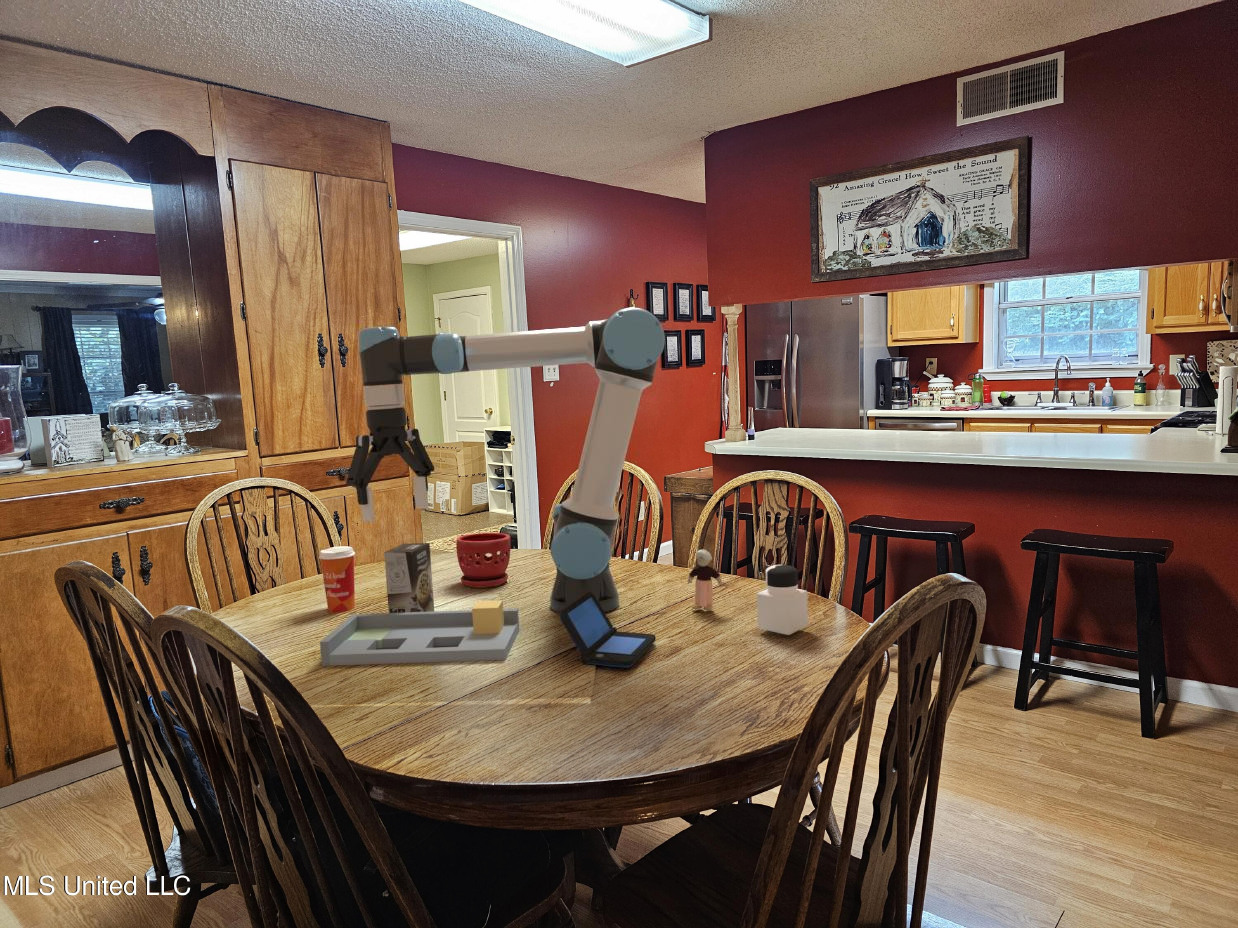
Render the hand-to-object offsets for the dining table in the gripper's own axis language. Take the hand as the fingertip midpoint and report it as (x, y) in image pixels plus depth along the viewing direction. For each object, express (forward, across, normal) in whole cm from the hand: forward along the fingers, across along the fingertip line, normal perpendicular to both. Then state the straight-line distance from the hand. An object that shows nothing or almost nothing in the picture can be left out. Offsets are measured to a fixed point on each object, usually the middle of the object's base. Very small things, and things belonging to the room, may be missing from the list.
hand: (396, 514), depth 159 cm
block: (+23, -5, +18) cm, 29 cm away
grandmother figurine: (+26, -40, +46) cm, 67 cm away
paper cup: (+24, -5, -27) cm, 36 cm away
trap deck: (+24, +5, +11) cm, 27 cm away
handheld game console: (+26, -10, +42) cm, 51 cm away
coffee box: (+25, -6, -5) cm, 26 cm away
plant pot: (+25, -36, -12) cm, 45 cm away
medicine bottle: (+26, -36, +66) cm, 79 cm away
